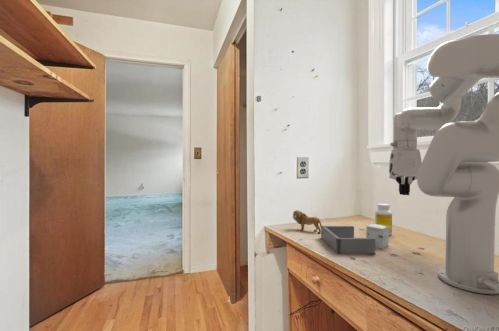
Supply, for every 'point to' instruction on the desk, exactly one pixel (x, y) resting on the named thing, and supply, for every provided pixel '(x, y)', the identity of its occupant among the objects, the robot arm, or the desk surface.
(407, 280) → the desk surface
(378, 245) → the skincare box
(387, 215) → the supplement bottle
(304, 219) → the lion figurine
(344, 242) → the grey u-shaped bracket
